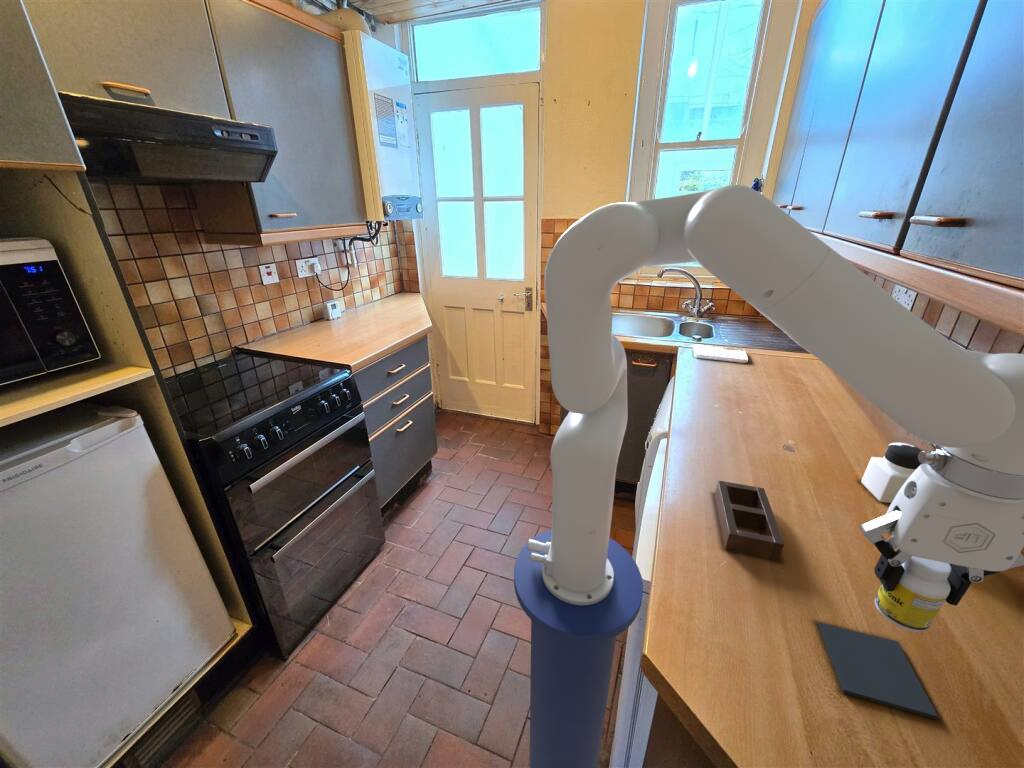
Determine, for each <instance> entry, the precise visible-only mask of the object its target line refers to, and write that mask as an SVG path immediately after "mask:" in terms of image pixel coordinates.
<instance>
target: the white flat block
mask: <svg viewBox="0 0 1024 768" xmlns="http://www.w3.org/2000/svg"><path fill="white" fill-rule="evenodd" d="M699 345H700V346H701V347H700V346H699ZM698 346H699V347H698ZM709 346H710V347H709ZM713 346H714V345H705V346H704V344H693V356H694V358H697V359H704V360H705V359H706V360H714V361H723V362H734V363H742V364H743V363H744V364H746V363H748V362H749V357H748V354H747V352H746V350H745V349H743V350H744V351H741V350H727V349H724V348H726V347H724V348H723V346H715V347H713Z"/></svg>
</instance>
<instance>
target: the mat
mask: <svg viewBox="0 0 1024 768" xmlns="http://www.w3.org/2000/svg"><path fill="white" fill-rule="evenodd" d="M817 627H818V629H819V632H820V635H821V638H822V640H823V643H824V646H825V649H826V651H827V654H828V656H829V659H830V662H831V664H832V667H833V669H834V673H835V675H836V677H837V681H838V683H839V686H840V688H841V691H842V693H843V694H846V695H850V696H854V697H856V698H860V699H864V700H868V701H871V702H875V703H878V704H882V705H884V706H888V707H892V708H896V709H899V710H902V711H907V712H909V713H913V714H917V715H920V716H923V717H926V718H930V719H934V720H937V719H938V718H939V715H938V714H937V711H936V710H935V707H934V706H933V704H932V702H931V700H930V699H929V696H928V694H927V693H926V691H925V689H924V687H923V686H922V683H921V681H920V680H919V678H918V676H917V674H916V673H915V671H914V669H913V667H912V665H911V663H910V661H909V660H908V658H907V655H906V654H905V652H904V650H903V649H902V647H901V645H900V643H899V641H896V640H893V639H888V638H884V637H880V636H877V635H872V634H868V633H864V632H859V631H856V630H852V629H848V628H843V627H839V626H836V625H832V624H828V623H824V622H817Z"/></svg>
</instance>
